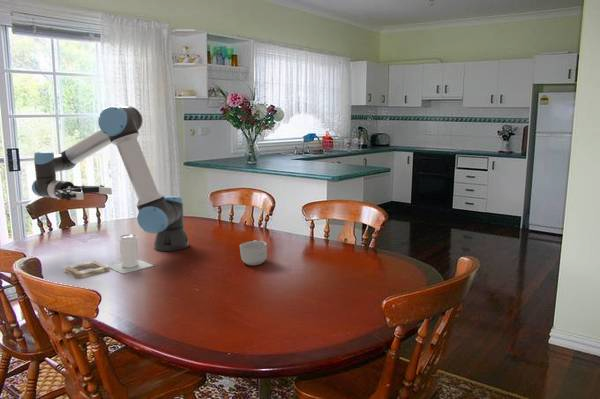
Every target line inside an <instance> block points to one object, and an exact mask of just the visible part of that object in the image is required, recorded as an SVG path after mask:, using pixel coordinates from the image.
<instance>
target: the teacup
mask: <svg viewBox="0 0 600 399" xmlns="http://www.w3.org/2000/svg"><path fill="white" fill-rule="evenodd" d="M267 247H268V244H267V242H266V241H264V240H256V239H254V240H253V241H252V240H251V241H245V242H242V243H241V244H239V251H240V252H239V253H240V257H241V258H240V259H241V260H242V262H243V263H245V264H246V265H248V266H257V265H261V264H263V263H264V262H265V261H266V260H267V257H268V248H267Z"/></svg>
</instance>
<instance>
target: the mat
mask: <svg viewBox="0 0 600 399" xmlns="http://www.w3.org/2000/svg"><path fill="white" fill-rule="evenodd" d="M107 266H108V267H109V270H110V269H111V270H113V271H115V272H116V273H120V274H121V275H125V274H129V273H132V272H136V271H141V270H144V269H148V268H152V267H154V265H153V264H151V263H148V262H146V261H143V260H140V259H139V258H138V266H136V267H133V268H123V267H122V266H121V262H118V263H114V264H110V265H107Z"/></svg>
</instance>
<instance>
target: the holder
mask: <svg viewBox="0 0 600 399" xmlns="http://www.w3.org/2000/svg"><path fill="white" fill-rule="evenodd" d="M108 266H109V265H105V264H103V263H101V262H98V261H96V260H93V261H88V262H84V263H80V264H75V265H70V266H65V267H64V272H65V273H67V274H69V275H71V276H73V277H75V278H76V279H81V278H86V277H90V276H94V275H97V274H98V275H99V274H102V273H105V272H106V273H107V272H110V268H109V267H108ZM92 267H93V269H89V268H92ZM83 269H89V270H84V271H80V270H83Z"/></svg>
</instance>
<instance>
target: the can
mask: <svg viewBox="0 0 600 399" xmlns="http://www.w3.org/2000/svg"><path fill="white" fill-rule="evenodd" d="M119 254H120V255H119V256H120V263H121V266H122V267H123V268H133V267H136V266H138V259H139V249H138V238H137V237H136V235H135V234H123V235H121V236H120V239H119Z"/></svg>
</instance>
